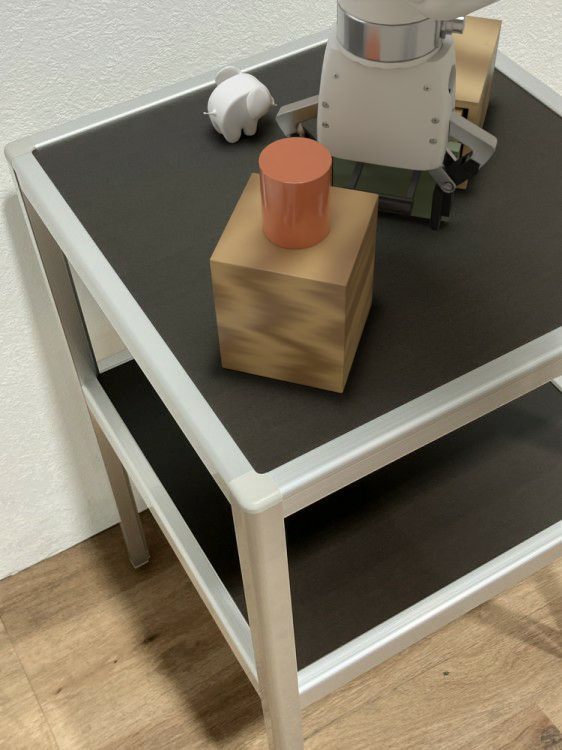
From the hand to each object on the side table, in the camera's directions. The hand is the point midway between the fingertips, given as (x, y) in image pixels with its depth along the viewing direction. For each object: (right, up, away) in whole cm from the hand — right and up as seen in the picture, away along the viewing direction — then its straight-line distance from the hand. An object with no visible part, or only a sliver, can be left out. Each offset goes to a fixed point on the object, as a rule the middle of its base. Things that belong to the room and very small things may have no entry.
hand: (380, 210), depth 81 cm
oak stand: (-7, -11, -1) cm, 13 cm away
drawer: (+2, +4, +9) cm, 10 cm away
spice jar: (-7, -3, -11) cm, 13 cm away
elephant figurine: (-12, +11, +17) cm, 23 cm away
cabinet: (+5, +10, +15) cm, 19 cm away
